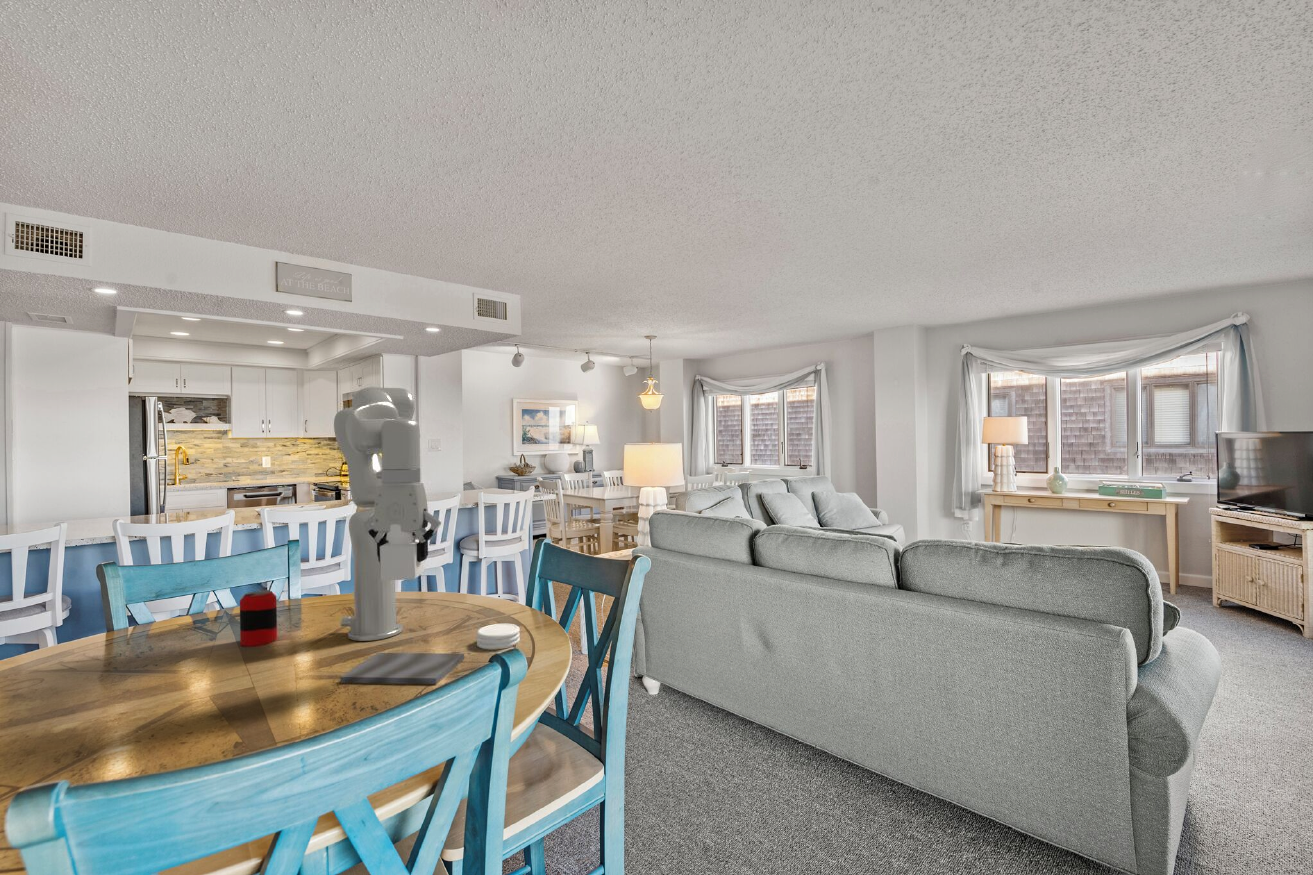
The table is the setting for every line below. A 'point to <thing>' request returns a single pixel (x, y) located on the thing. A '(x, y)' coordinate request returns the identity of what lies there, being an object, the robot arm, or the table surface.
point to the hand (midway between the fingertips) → (402, 559)
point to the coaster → (498, 636)
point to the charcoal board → (403, 668)
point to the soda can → (258, 618)
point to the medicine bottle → (400, 556)
